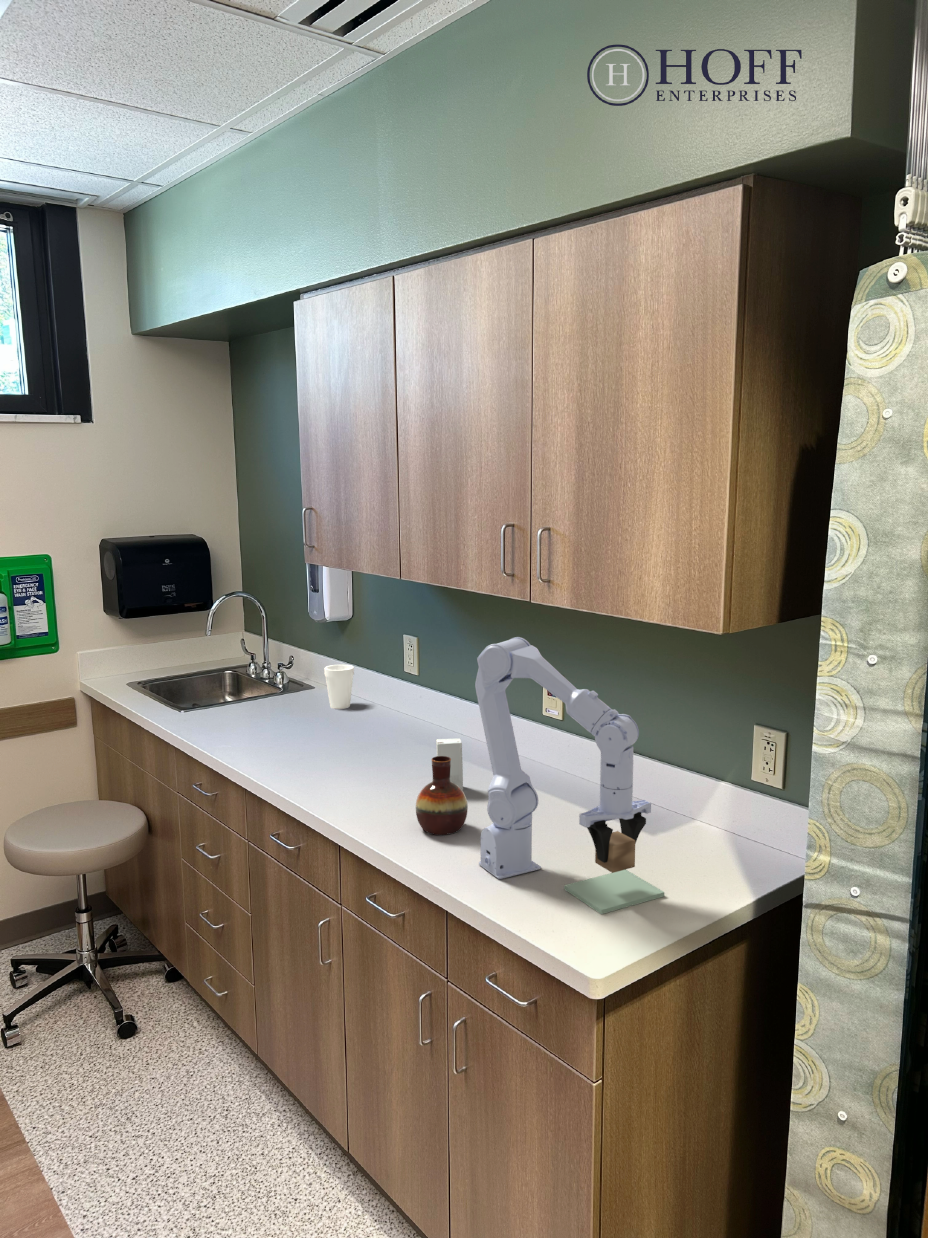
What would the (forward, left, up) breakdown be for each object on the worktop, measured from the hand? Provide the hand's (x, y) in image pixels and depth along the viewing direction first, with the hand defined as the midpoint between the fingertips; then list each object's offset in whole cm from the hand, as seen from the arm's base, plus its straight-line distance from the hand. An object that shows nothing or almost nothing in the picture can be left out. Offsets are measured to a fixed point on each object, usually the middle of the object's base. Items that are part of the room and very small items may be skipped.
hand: (614, 857), depth 165 cm
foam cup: (+6, +152, -7) cm, 152 cm away
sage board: (0, 0, -7) cm, 7 cm away
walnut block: (0, 0, -1) cm, 1 cm away
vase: (-13, +43, -7) cm, 45 cm away
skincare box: (0, +64, -7) cm, 64 cm away
